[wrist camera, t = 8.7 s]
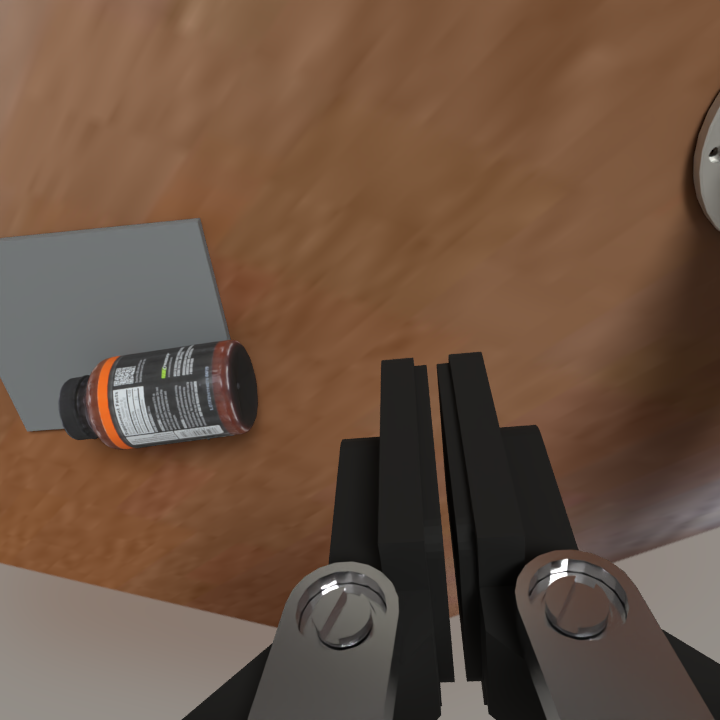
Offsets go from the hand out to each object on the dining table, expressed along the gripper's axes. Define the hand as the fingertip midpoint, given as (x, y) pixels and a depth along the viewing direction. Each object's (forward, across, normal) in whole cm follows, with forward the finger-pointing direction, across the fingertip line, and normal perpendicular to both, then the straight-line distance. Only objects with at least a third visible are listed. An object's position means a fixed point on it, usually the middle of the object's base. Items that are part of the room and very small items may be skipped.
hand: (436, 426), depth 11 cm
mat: (+26, +20, +11) cm, 35 cm away
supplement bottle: (+23, +11, +14) cm, 29 cm away
